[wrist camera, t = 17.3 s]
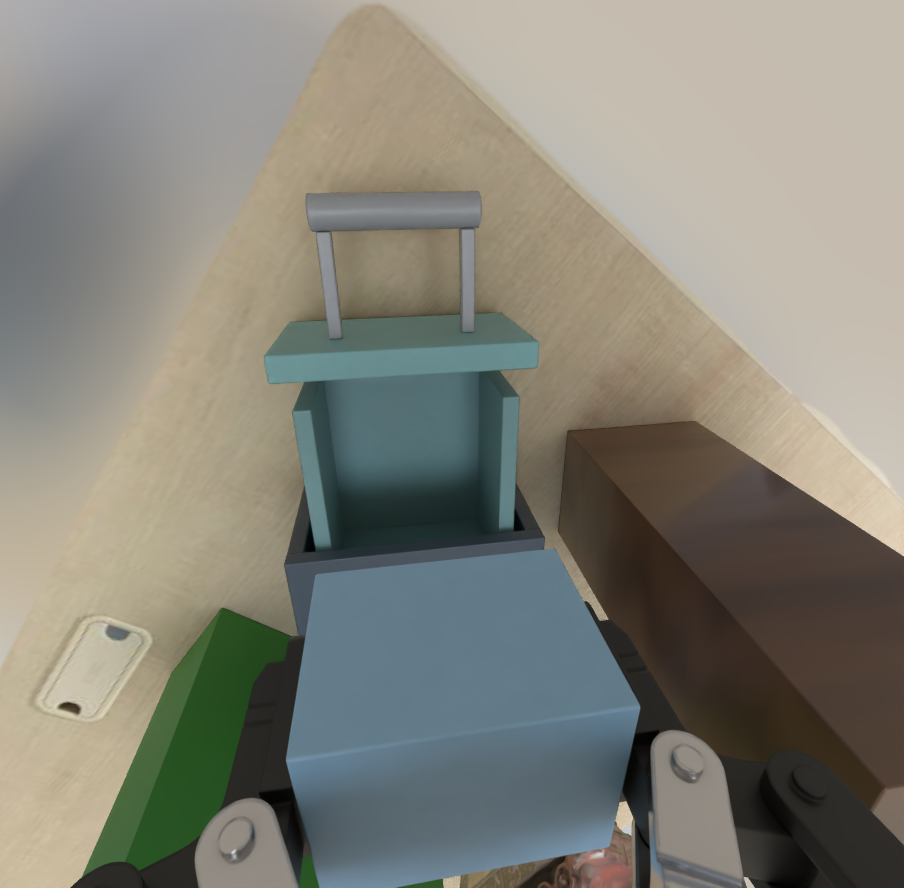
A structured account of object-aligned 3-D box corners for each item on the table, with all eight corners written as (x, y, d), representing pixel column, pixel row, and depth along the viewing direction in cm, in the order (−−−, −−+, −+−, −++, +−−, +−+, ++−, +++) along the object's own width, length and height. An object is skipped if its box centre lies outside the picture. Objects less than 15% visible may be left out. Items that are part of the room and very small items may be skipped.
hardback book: (423, 692, 40) (479, 1240, 19) (371, 744, 42) (368, 1296, 21) (222, 607, 34) (-44, 1302, 12) (171, 674, 36) (-138, 1377, 14)
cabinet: (306, 475, 30) (283, 565, 23) (503, 459, 32) (545, 537, 24) (334, 644, 37) (324, 759, 29) (498, 624, 38) (529, 728, 30)
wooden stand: (567, 430, 32) (886, 789, 12) (695, 420, 33) (1180, 734, 13) (558, 532, 35) (792, 938, 15) (674, 520, 36) (1031, 885, 17)
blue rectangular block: (337, 699, 14) (322, 903, 10) (315, 572, 12) (284, 761, 8) (543, 670, 14) (610, 848, 10) (555, 547, 12) (642, 706, 8)
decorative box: (414, 853, 50) (422, 986, 42) (553, 744, 46) (595, 868, 37) (501, 881, 56) (524, 1004, 47) (633, 785, 51) (687, 903, 42)
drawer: (269, 197, 23) (231, 191, 17) (505, 194, 24) (549, 187, 18) (323, 533, 31) (310, 611, 25) (496, 516, 33) (524, 586, 27)
